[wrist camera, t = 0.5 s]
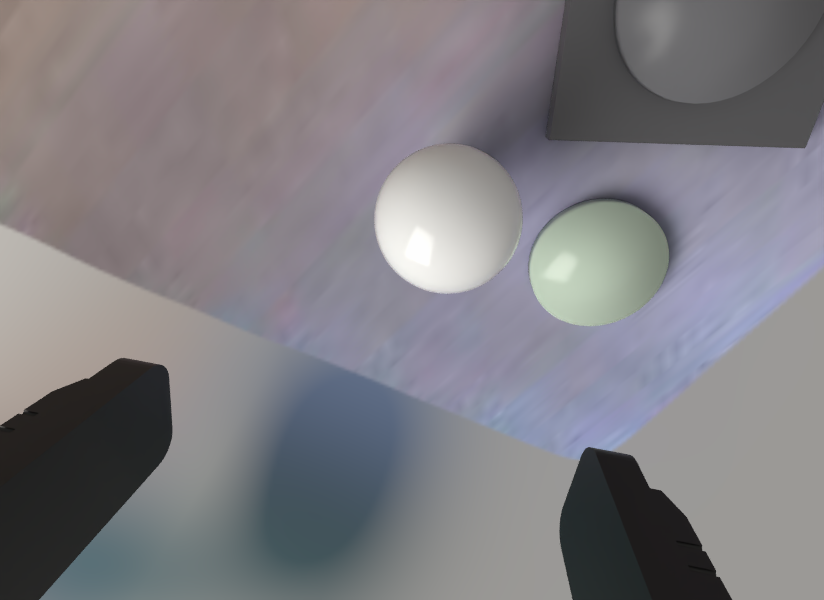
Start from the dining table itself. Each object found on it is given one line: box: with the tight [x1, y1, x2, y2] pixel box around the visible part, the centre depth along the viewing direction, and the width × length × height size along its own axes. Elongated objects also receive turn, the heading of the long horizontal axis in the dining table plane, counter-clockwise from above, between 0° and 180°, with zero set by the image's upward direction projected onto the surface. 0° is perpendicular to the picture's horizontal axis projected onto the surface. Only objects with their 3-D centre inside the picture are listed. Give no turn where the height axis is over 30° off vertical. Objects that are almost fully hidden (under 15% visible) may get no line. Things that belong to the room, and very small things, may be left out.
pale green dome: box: [528, 199, 669, 326], centre depth 28 cm, size 8×8×1 cm
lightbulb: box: [374, 143, 523, 294], centre depth 22 cm, size 6×6×11 cm
